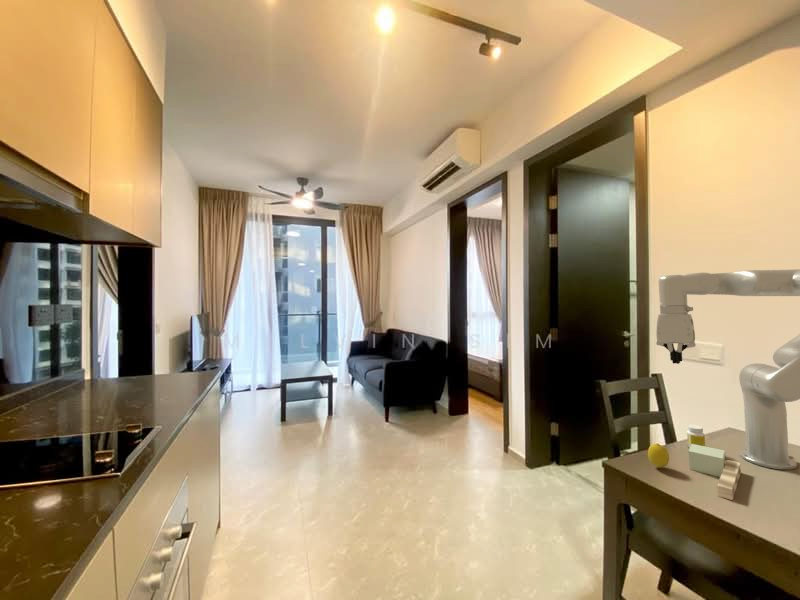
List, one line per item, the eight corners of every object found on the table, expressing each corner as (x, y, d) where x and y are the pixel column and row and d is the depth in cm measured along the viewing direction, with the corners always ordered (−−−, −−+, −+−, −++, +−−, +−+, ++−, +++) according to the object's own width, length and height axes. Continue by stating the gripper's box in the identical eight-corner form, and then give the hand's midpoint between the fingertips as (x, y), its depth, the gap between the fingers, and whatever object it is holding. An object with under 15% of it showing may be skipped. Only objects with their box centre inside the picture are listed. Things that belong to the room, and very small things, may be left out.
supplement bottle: (709, 452, 119) (707, 428, 119) (695, 453, 119) (694, 429, 119) (697, 446, 124) (695, 423, 124) (684, 447, 124) (683, 424, 124)
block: (692, 461, 115) (691, 443, 115) (725, 469, 109) (724, 450, 109) (689, 469, 110) (688, 451, 110) (723, 478, 104) (722, 458, 104)
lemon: (673, 470, 110) (672, 445, 110) (661, 473, 108) (660, 448, 108) (656, 462, 115) (655, 438, 115) (644, 465, 113) (643, 441, 113)
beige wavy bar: (727, 469, 108) (727, 459, 108) (740, 472, 106) (740, 463, 106) (717, 495, 95) (717, 485, 95) (732, 500, 93) (732, 489, 93)
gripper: (704, 309, 116) (706, 363, 116) (650, 310, 127) (653, 359, 127) (699, 311, 111) (702, 367, 111) (644, 311, 122) (647, 362, 122)
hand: (676, 362), depth 119 cm, fingers closed
